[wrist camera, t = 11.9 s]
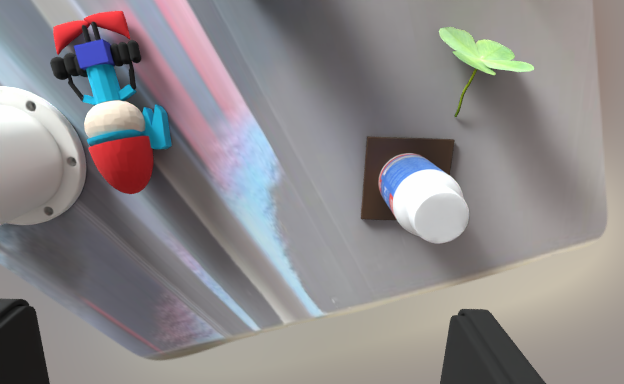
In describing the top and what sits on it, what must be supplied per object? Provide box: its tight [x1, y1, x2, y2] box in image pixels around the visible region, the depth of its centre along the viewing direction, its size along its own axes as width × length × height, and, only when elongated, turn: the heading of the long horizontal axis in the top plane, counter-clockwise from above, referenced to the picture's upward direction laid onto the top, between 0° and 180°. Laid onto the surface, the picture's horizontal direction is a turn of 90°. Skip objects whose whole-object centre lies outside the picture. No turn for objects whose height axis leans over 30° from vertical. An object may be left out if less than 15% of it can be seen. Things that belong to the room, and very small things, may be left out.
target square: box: [361, 137, 454, 220], centre depth 37 cm, size 8×8×1 cm
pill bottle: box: [379, 153, 469, 244], centre depth 32 cm, size 6×5×10 cm
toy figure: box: [50, 11, 172, 194], centre depth 33 cm, size 8×5×15 cm
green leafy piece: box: [439, 27, 534, 117], centre depth 33 cm, size 7×8×6 cm
